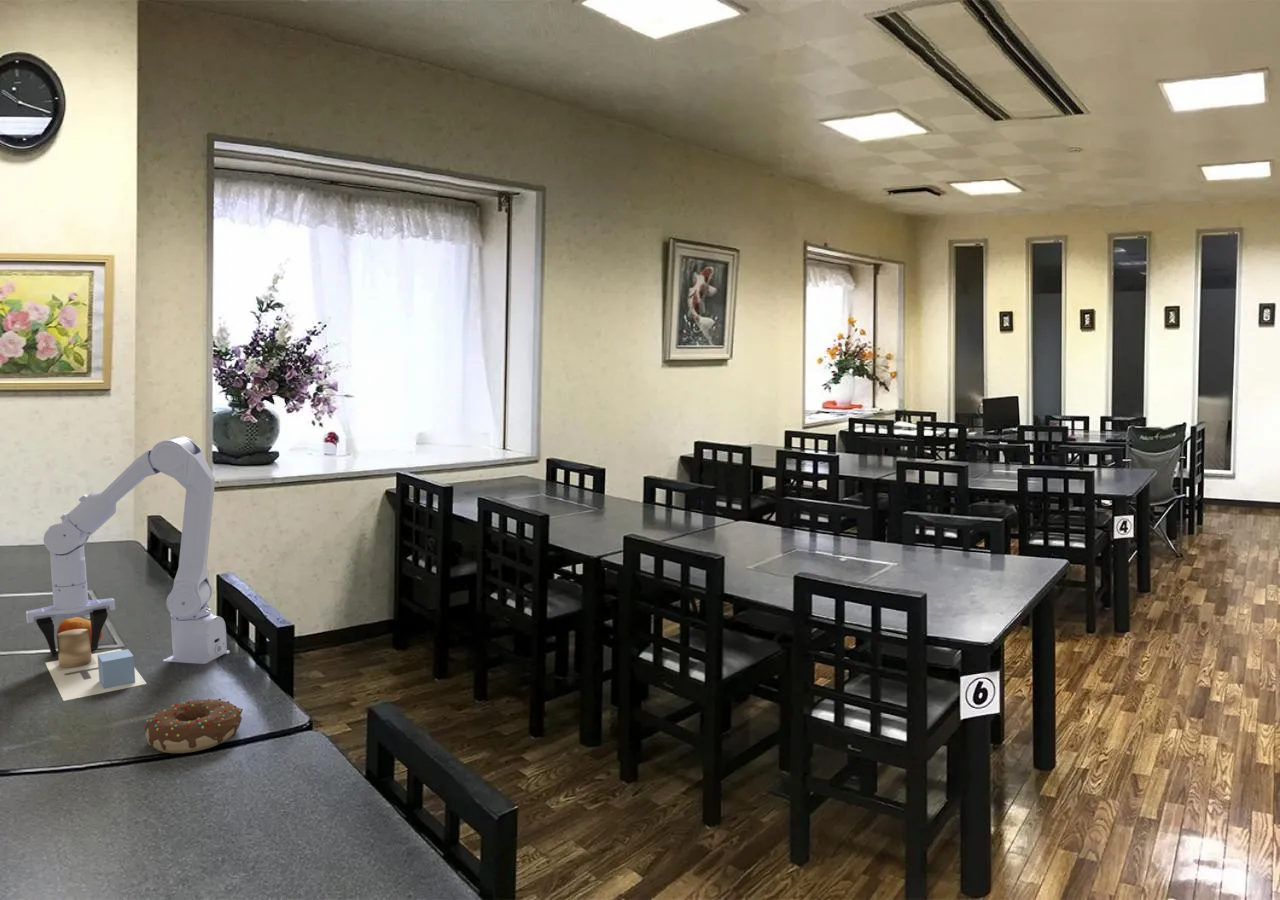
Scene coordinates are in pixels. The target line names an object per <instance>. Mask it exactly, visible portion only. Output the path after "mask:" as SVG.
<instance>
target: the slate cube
mask: <svg viewBox="0 0 1280 900" xmlns="http://www.w3.org/2000/svg"><path fill="white" fill-rule="evenodd" d="M134 667H135V656H134V655H133V653H132V652H131V651H130V650H129V649H128V648H126V649H121V650H120V651H115V652H110V653H104V654H99V655H98V669H99V681H100V683H101V685H102V686H103V688H104V689H106V688H111V687H115V686H120V685H125V684H130V683H135V669H136V668H135V669H134Z"/></svg>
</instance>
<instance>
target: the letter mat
mask: <svg viewBox="0 0 1280 900" xmlns="http://www.w3.org/2000/svg"><path fill="white" fill-rule="evenodd" d="M120 650H122V649H121V648H118V649H113V650H108V651H107V650H106V651H102V652H95V653H91V658H92V661H91V662H90V663H88V664H86V665H83V666H78V667H72V668H63V667H60V666H59V659H58V660H52V661H48V662H44V664H45V666H46V668H47V669H48V671H49V674H50V675H51V677H52V680H53V682H54V684H55V686H56V689H57V690H58V692H59V695H60V696H61V699H62V701H63V702H65V701H70V700H75V699H79V698H85V697H90V696H94V695H100V694H104V693H108V692H115V691H119V690H123V689H129V688H132V687H133V688H134V687H139V686H144V685H147V682H146V680H145V679H144V678H143V676H142V675H141V674H140V672H139V671H138V670H137V668H136V667H135V666H134V669H135V683H130V684H125V685H120V686H115V687H111V688H106V689H104V688H103V686H102V685H101V683H100V681H99V669H98V655H99V654H104V653H110V652H115V651H120Z"/></svg>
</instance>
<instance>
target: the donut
mask: <svg viewBox="0 0 1280 900" xmlns="http://www.w3.org/2000/svg"><path fill="white" fill-rule="evenodd" d="M242 712H243V708H241V707H237V705H234V704H232V703H231V702H230V701H229V700H226V701H225V700H223V699H221V698H219V699H218V700H217V699H210V698H207V699H193V700H191V701H190V700H189V701H187V702H180V703H176V704H172V705H171V706H170V707H168V708H167V707H166V708H164V709H163V710H159V711H158V712H155V713H154V715H152V717H151V718H149V719H146V720H145V721H146V722H145V727H144V733H145V734H144V735H145V739H146V740H147V741H146V742H147V743H148V745H149V746H150V747H151V748H150V749H151V750H156V751H159V752H162V753H167V754H186V753H194V752H199V751H204V750H207V749H210V748H213V747H215V746H218V745H220V743H221V744H223V743H224V742H226V741H227V740H229V739H230V738H231V737H234V736H235V735H236V734H237V731H238V730H239V728H240V725H241V723H242V720H243V717H242ZM222 742H223V743H222Z"/></svg>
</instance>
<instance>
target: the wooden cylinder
mask: <svg viewBox="0 0 1280 900" xmlns="http://www.w3.org/2000/svg"><path fill="white" fill-rule="evenodd" d="M56 641H57V653H58V655H57V656H58V660H59V666H60V667H63V668H72V667H78V666H83V665H86V664H88V663H90V662H91V661H92V658H91V654H92V648H91V644H90V630H88V629H73V630H68V631H64V632H61V633H59V634H57V633H56Z"/></svg>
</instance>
